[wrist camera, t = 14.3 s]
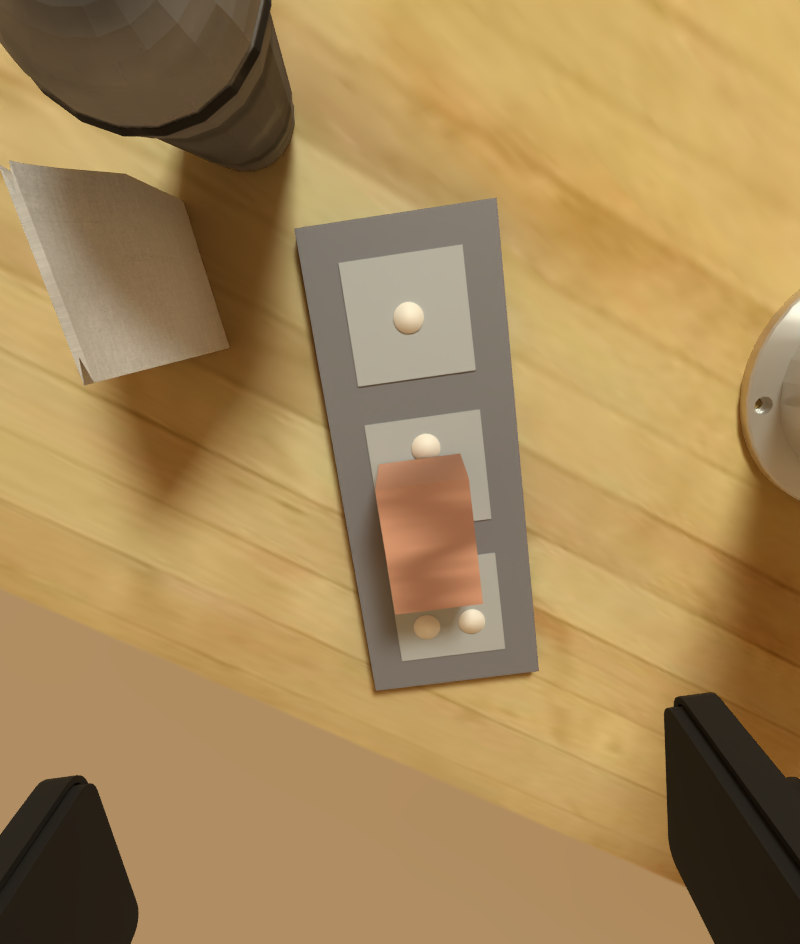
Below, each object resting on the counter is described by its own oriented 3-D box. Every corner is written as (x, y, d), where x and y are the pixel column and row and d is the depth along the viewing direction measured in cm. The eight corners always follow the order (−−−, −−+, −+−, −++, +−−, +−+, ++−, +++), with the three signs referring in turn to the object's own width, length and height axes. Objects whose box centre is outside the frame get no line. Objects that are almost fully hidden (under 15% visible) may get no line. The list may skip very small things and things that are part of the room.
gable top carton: (183, 201, 27) (63, 144, 18) (229, 347, 29) (144, 369, 19) (107, 221, 27) (-52, 177, 18) (158, 366, 29) (38, 396, 20)
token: (468, 478, 25) (482, 603, 27) (460, 453, 29) (473, 564, 31) (375, 490, 25) (395, 614, 27) (378, 464, 29) (396, 574, 31)
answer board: (493, 201, 27) (497, 196, 26) (534, 660, 34) (539, 673, 32) (298, 231, 27) (293, 228, 26) (376, 679, 34) (375, 692, 33)
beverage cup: (340, 190, 27) (187, -91, 8) (183, 217, 27) (-339, 11, 8) (308, 3, 25) (-2, -1000, 6) (140, 35, 25) (-687, -816, 6)
